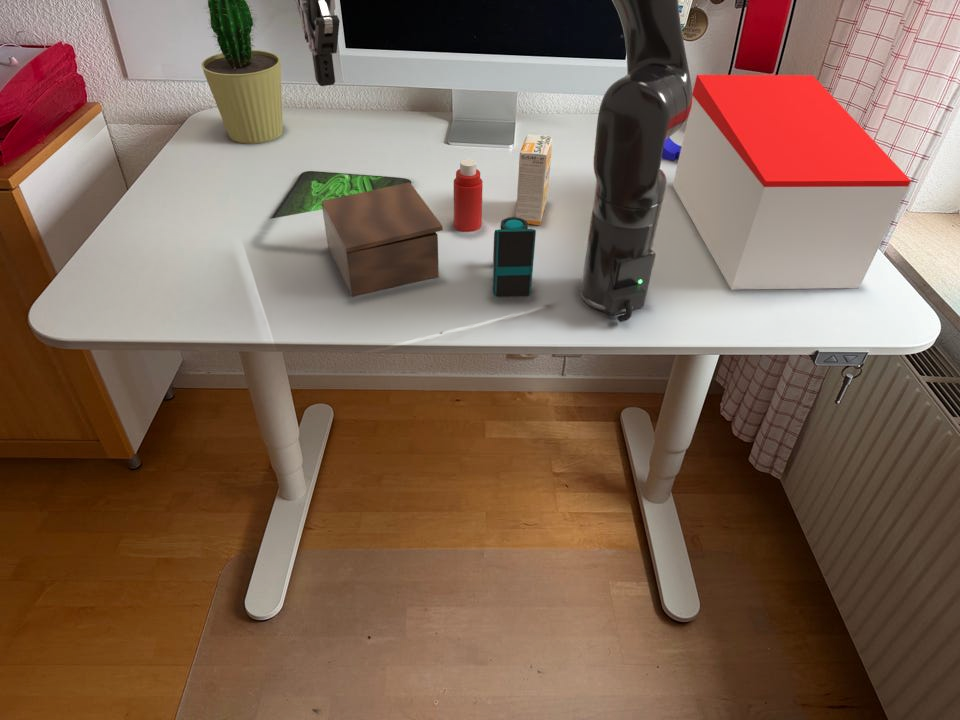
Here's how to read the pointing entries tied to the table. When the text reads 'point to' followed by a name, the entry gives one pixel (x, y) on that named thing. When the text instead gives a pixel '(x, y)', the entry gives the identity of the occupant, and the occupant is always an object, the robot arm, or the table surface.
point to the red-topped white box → (784, 183)
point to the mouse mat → (328, 189)
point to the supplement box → (533, 177)
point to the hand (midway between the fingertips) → (325, 83)
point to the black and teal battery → (513, 258)
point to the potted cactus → (243, 76)
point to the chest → (384, 262)
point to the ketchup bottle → (468, 197)
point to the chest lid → (380, 217)
